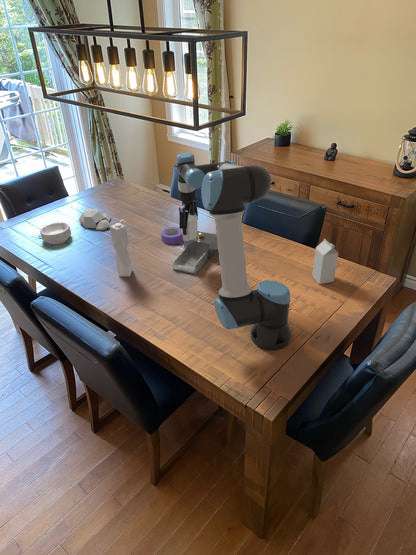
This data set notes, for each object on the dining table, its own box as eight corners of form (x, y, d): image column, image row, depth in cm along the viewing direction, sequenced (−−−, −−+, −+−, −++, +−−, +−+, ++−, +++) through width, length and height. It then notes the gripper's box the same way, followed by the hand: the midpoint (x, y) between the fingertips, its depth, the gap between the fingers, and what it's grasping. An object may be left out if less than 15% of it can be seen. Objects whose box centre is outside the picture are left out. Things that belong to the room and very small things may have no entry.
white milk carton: (319, 284, 186) (324, 247, 175) (311, 276, 191) (316, 239, 181) (333, 282, 187) (339, 244, 177) (325, 273, 193) (331, 237, 182)
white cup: (189, 231, 199) (188, 212, 193) (201, 235, 195) (201, 216, 189) (177, 237, 194) (176, 218, 188) (190, 242, 190) (189, 222, 184)
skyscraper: (136, 269, 201) (128, 216, 185) (133, 279, 194) (125, 224, 179) (118, 269, 201) (109, 216, 186) (115, 279, 194) (105, 224, 179)
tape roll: (171, 247, 217) (171, 239, 215) (157, 240, 224) (156, 232, 221) (188, 239, 224) (187, 231, 222) (173, 232, 231) (172, 224, 228)
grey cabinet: (197, 275, 194) (196, 255, 188) (171, 269, 199) (169, 249, 193) (218, 249, 214) (217, 230, 208) (193, 245, 219) (192, 226, 212)
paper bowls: (38, 241, 227) (35, 228, 223) (64, 232, 235) (61, 219, 231) (50, 251, 218) (47, 237, 213) (77, 241, 226) (74, 228, 221)
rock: (110, 216, 251) (107, 201, 245) (114, 231, 235) (112, 215, 230) (79, 221, 246) (75, 206, 241) (81, 236, 230) (78, 220, 225)
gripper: (184, 199, 173) (187, 247, 185) (204, 182, 188) (205, 228, 201) (168, 197, 175) (172, 245, 188) (189, 180, 191) (191, 225, 203)
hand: (189, 236), depth 194 cm, fingers closed on white cup, 7 cm apart
